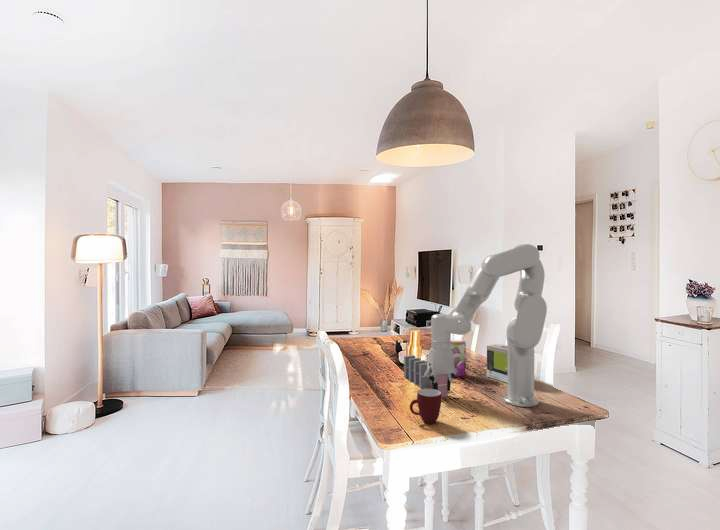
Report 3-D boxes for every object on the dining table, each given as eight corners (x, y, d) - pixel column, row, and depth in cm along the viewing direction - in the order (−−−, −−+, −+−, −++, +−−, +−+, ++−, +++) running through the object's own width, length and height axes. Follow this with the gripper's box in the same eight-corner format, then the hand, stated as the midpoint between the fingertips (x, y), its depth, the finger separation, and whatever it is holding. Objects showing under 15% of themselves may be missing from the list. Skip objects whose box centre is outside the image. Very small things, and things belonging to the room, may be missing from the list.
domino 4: (431, 386, 169) (431, 363, 169) (421, 388, 167) (420, 364, 167) (429, 385, 171) (429, 362, 170) (419, 387, 169) (419, 363, 169)
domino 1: (415, 377, 182) (415, 356, 182) (405, 378, 181) (405, 357, 181) (413, 376, 184) (413, 355, 184) (404, 377, 182) (403, 356, 182)
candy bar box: (441, 376, 184) (441, 341, 184) (440, 373, 189) (440, 339, 189) (466, 377, 183) (465, 341, 183) (464, 373, 188) (464, 339, 188)
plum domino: (447, 396, 157) (447, 371, 157) (436, 398, 155) (436, 373, 155) (445, 395, 158) (445, 370, 158) (434, 396, 157) (434, 371, 157)
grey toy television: (528, 382, 175) (528, 348, 175) (512, 385, 170) (512, 351, 170) (501, 373, 188) (501, 342, 188) (486, 376, 183) (486, 345, 183)
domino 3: (425, 383, 173) (425, 361, 173) (415, 385, 172) (415, 362, 172) (423, 382, 175) (423, 360, 175) (413, 383, 173) (413, 361, 173)
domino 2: (420, 380, 178) (420, 358, 178) (410, 381, 176) (410, 359, 176) (418, 379, 180) (418, 357, 179) (408, 380, 178) (408, 358, 178)
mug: (413, 428, 128) (413, 397, 128) (407, 418, 136) (407, 389, 136) (445, 426, 129) (444, 395, 129) (437, 416, 137) (436, 387, 137)
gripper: (453, 342, 163) (454, 385, 163) (417, 345, 157) (417, 390, 157) (464, 345, 156) (464, 391, 156) (426, 349, 150) (427, 396, 150)
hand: (441, 390), depth 157 cm, fingers closed on plum domino, 4 cm apart
